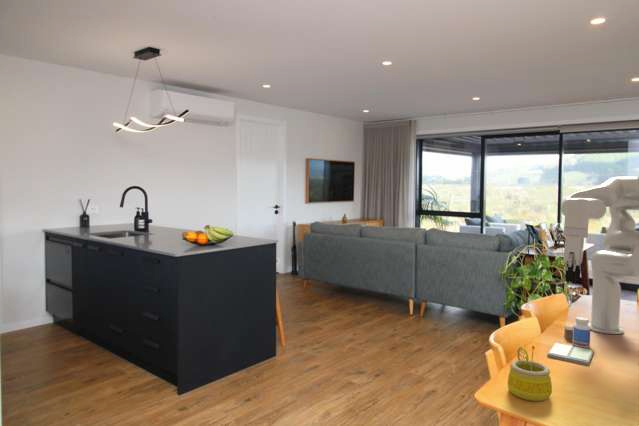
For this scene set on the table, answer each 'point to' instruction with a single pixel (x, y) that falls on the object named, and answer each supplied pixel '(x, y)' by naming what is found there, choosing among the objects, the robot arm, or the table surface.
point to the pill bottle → (581, 332)
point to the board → (571, 353)
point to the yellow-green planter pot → (529, 378)
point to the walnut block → (568, 333)
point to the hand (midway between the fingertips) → (572, 280)
